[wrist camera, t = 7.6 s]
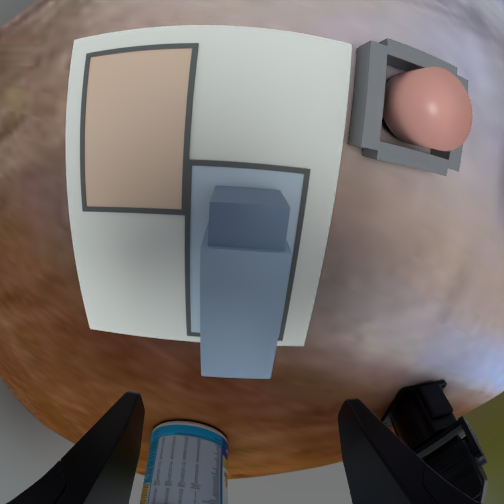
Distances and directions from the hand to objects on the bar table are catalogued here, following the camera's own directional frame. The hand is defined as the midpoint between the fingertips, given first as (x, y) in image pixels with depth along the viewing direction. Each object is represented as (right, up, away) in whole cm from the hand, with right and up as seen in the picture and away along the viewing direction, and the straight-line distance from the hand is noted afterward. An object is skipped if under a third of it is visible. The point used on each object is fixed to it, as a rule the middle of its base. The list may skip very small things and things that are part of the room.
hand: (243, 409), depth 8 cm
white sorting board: (-3, +8, +8) cm, 12 cm away
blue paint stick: (0, +4, +10) cm, 10 cm away
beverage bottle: (-6, -15, +19) cm, 25 cm away
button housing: (+9, +13, +6) cm, 18 cm away
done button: (+9, +13, +6) cm, 18 cm away
